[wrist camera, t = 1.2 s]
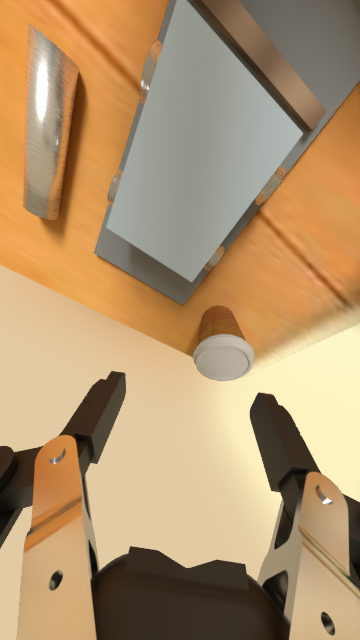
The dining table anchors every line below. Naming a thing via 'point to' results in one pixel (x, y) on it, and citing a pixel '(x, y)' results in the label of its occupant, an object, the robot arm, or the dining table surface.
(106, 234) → the mat
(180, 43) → the slab
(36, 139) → the roller
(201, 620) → the robot arm
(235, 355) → the disposable coffee cup
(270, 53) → the wooden stops
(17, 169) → the dining table surface
